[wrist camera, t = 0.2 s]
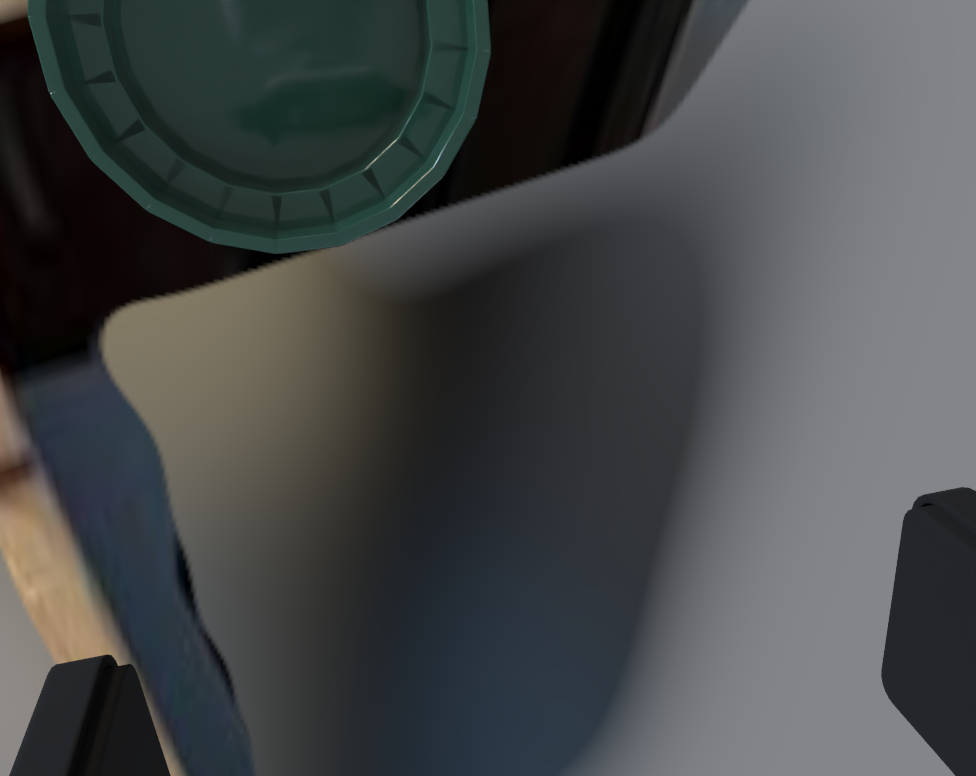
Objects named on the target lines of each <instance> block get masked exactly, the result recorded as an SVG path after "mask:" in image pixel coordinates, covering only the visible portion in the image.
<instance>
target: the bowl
mask: <svg viewBox="0 0 976 776" xmlns="http://www.w3.org/2000/svg"><path fill="white" fill-rule="evenodd" d="M27 14H28V19H29V23H30V26H31V30H32V34H33V37H34V41H35V44H36V48H37V52H38V55H39V59H40V62H41V66H42V70H43V73H44V77H45V80H46V84H47V88H48V91H49V92H50V95H51V97H52V99H53V100H54V102H55V104H56V105H57V107H58V108H59V110H60V112H61V113H62V115H63V116H64V118H65V120H66V121H67V123H68V124H69V126H70V128H71V129H72V131H73V132H74V134H75V136H76V137H77V139H78V140H79V142H80V144H81V145H82V147H83V148H84V150H85V152H86V153H87V155H88V157H89V158H90V159H92V162H93V163H94V164H96V165H97V166H98V167H99V168H100V169H101V170H102V171H103V172H104V173H105V174H107V175H108V176H109V177H110V178H111V179H112V180H113V181H114V182H115V183H116V184H118V185H119V186H120V187H121V188H122V189H123V190H124V191H125V192H126V193H127V194H129V195H130V196H131V197H132V198H133V199H134V200H135V201H136V202H137V203H138V204H140V205H141V206H142V207H143V208H144V209H145V210H147V211H148V212H150V213H152V214H154V215H156V216H158V217H160V218H162V219H164V220H166V221H168V222H170V223H172V224H174V225H176V226H178V227H180V228H182V229H184V230H186V231H188V232H190V233H192V234H194V235H196V236H198V237H200V238H202V239H204V240H206V241H208V242H211V243H216V244H221V245H227V246H233V247H238V248H244V249H250V250H256V251H261V252H267V253H273V254H283V253H291V252H299V251H306V250H314V249H322V248H330V247H338V246H340V245H341V246H342V245H344V244H346V243H349V242H351V241H353V240H355V239H357V238H359V237H362V236H364V235H366V234H368V233H370V232H372V231H374V230H377V229H379V228H381V227H383V226H385V225H387V224H389V223H392V222H394V221H396V220H397V219H399V218H400V217H401V216H402V215H403V214H404V213H405V212H406V211H407V210H409V209H410V208H411V207H412V206H413V205H414V204H415V203H416V202H417V201H418V200H419V199H420V198H421V197H423V196H424V195H425V194H426V193H427V192H428V191H429V190H430V189H431V188H432V187H433V186H434V185H435V184H437V183H438V182H439V181H440V180H441V179H442V178H443V176H444V175H445V174H446V172H447V171H448V169H449V167H450V165H451V163H452V162H453V160H454V158H455V156H456V155H457V153H458V151H459V149H460V148H461V146H462V144H463V142H464V140H465V139H466V137H467V135H468V133H469V132H470V130H471V128H472V126H473V125H474V123H475V121H476V119H477V115H478V110H479V106H480V101H481V97H482V92H483V88H484V83H485V79H486V74H487V70H488V65H489V60H490V56H491V52H490V51H491V40H490V26H489V11H488V0H28V8H27Z"/></svg>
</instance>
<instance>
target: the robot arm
mask: <svg viewBox="0 0 976 776" xmlns="http://www.w3.org/2000/svg"><path fill="white" fill-rule="evenodd" d="M881 677H882V682H883V686H884V689H885V691H886V693H887V695H888V697H889V699H890V700H891V702H892V703H893V704H894V705H895V707H896V708H897V709H898V710H899V711H900V712H901V714H902V715H903V716H904V717H905V718H906V719H907V720H908V722H909V723H910V724H911V725H912V726H913V727H914V728H915V730H916V731H917V732H918V733H919V734H920V735H921V736H922V738H923V739H924V740H925V741H926V742H927V743H928V745H929V746H930V747H931V748H932V749H933V750H934V751H935V752H936V754H937V755H938V756H939V757H940V758H941V759H942V761H943V762H944V763H945V764H946V765H947V766H948V767H949V769H950V770H951V771H952V772H953V773H954V774H955V776H976V491H974V490H972V489H970V488H963V487H962V488H956V489H951V490H946V491H940V492H936V493H930V494H925V495H922V496H920V497H918V498H917V500H916V501H915V502H914V504H913V508H912V509H911V510H909V511H908V512H907V513H906V514H905V516H904V520H903V526H902V533H901V540H900V546H899V553H898V560H897V567H896V574H895V581H894V589H893V595H892V602H891V609H890V616H889V623H888V630H887V636H886V643H885V650H884V657H883V664H882V676H881ZM9 776H170V773H169V770H168V767H167V764H166V760H165V757H164V754H163V751H162V748H161V745H160V742H159V739H158V736H157V733H156V730H155V727H154V724H153V721H152V718H151V715H150V712H149V709H148V706H147V703H146V700H145V696H144V693H143V690H142V687H141V684H140V681H139V678H138V675H137V673H136V670H135V668H134V667H133V665H131V664H127V665H122V666H118V665H117V663H116V660H115V659H114V658H113V657H112V655H103V656H98V657H93V658H87V659H82V660H77V661H72V662H67V663H62V664H57V665H55V666H53V667H52V668H51V670H50V672H49V673H48V675H47V678H46V680H45V683H44V686H43V688H42V691H41V694H40V696H39V699H38V702H37V704H36V707H35V710H34V712H33V715H32V718H31V720H30V723H29V725H28V728H27V731H26V733H25V736H24V739H23V741H22V744H21V746H20V749H19V752H18V755H17V757H16V760H15V762H14V765H13V767H12V770H11V773H10V775H9Z"/></svg>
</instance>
